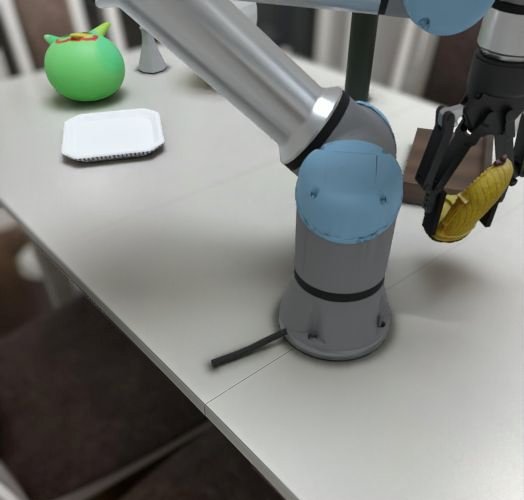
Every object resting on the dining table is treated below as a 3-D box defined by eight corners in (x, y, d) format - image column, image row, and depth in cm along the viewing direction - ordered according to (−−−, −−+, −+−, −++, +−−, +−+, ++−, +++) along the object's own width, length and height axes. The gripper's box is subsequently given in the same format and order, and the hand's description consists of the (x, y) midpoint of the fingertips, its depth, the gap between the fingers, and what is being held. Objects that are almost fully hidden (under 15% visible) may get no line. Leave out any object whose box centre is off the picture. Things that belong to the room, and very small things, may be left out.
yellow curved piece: (500, 255, 74) (541, 153, 63) (448, 266, 72) (481, 163, 61) (456, 212, 81) (486, 113, 70) (408, 220, 79) (431, 121, 68)
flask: (153, 75, 137) (147, 32, 130) (133, 70, 140) (125, 28, 133) (171, 67, 141) (166, 24, 134) (151, 62, 144) (144, 20, 137)
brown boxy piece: (478, 214, 92) (491, 177, 87) (397, 201, 95) (404, 165, 90) (484, 155, 106) (495, 121, 101) (413, 146, 109) (420, 112, 104)
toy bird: (53, 115, 121) (32, 45, 111) (55, 88, 133) (36, 21, 122) (132, 107, 124) (119, 37, 113) (127, 80, 135) (115, 15, 125)
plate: (62, 170, 104) (59, 159, 103) (67, 125, 118) (64, 115, 116) (167, 158, 107) (165, 147, 105) (159, 115, 121) (158, 106, 119)
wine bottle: (338, 98, 126) (352, -59, 104) (354, 91, 128) (371, -63, 107) (357, 105, 123) (375, -55, 101) (372, 98, 126) (394, -59, 104)
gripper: (440, 71, 54) (399, 252, 71) (614, 53, 57) (535, 230, 74) (410, 46, 59) (377, 221, 76) (571, 32, 62) (506, 202, 79)
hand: (455, 225), depth 75 cm, fingers closed on yellow curved piece, 8 cm apart
